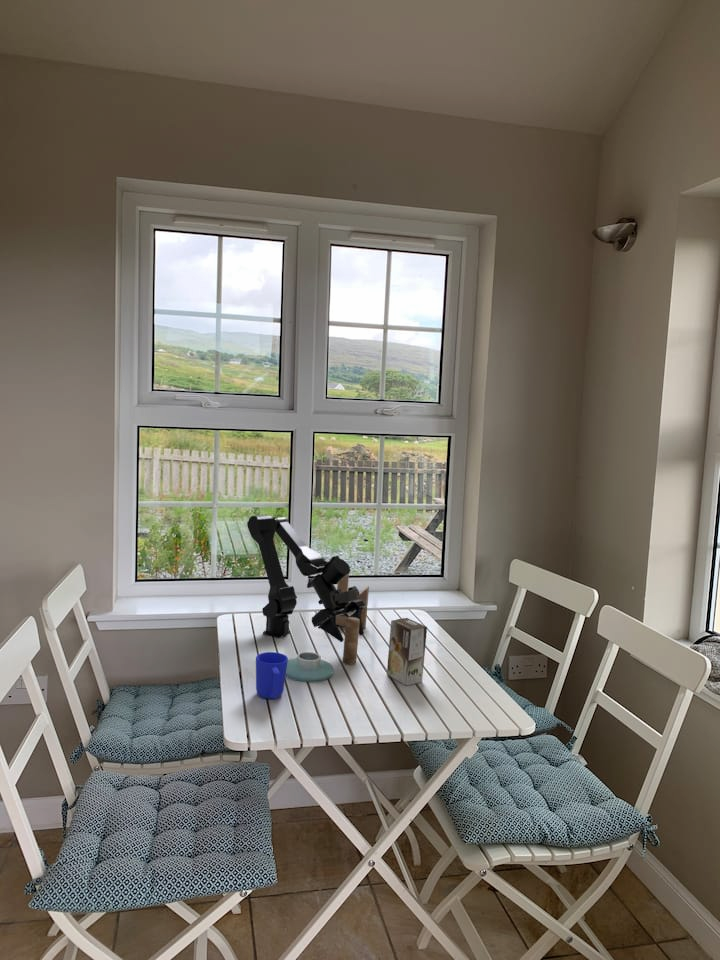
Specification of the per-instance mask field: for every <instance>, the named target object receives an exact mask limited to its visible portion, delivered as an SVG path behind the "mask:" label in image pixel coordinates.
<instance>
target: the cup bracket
mask: <svg viewBox="0 0 720 960" xmlns="http://www.w3.org/2000/svg"><path fill="white" fill-rule="evenodd" d="M333 672H334V667H333V665H332V664H331V663H330V662H328V661H326V660H323V659H322V657H321V655H320V654H319V653H316V652H311V651H310V652H309V651H304V652H299V653H297V654H296V658H295V657H294V658H290V659H288V663H287V669H286V676H285V677H287V678H289V679H291V678H292V680H294V679H295V680H294V681H298V680H300V681H299V682H304V681H305V682H307V683H315V682H314V681H318V682H322V681H326V680H328V679H330V678H332V676H333Z"/></svg>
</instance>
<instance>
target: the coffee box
mask: <svg viewBox="0 0 720 960" xmlns="http://www.w3.org/2000/svg"><path fill="white" fill-rule="evenodd" d="M389 631H390V632H389V643H388V644H389V645H388V655H387V665H386V666H387V668H386V675H387V676H389V677H390V678H393V679H394V680H395V681H398V682H400V683H402V684H403V685H405V686H410V685H414V684H419V683H422V682H423V677H424V675H423V674H424V667H425V666H424V664H425V655H426V646H427V645H426V643H427V631H428V626H426V625H423V624H422V623H419V622H417V621H415V620H413V619H411V618H409V617H403V618H398V619H393V620H391V621H390V630H389Z"/></svg>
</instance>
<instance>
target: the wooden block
mask: <svg viewBox="0 0 720 960" xmlns="http://www.w3.org/2000/svg"><path fill="white" fill-rule="evenodd" d="M349 577H350V573H349V574H348V575H347V576H345V577H344V578H343V579H342V580H341V581H340V582H339V583H338V584H336V585H337V587H336V589H337V590H338V589H340V590H341V591H342V592H346V591H348V588H349V580H350V579H349ZM369 593H370V586H369V585H368V586H367V587H366V588H365V589H363V590H362V591H361V592H359V596H357V598H358V600H362V601H363V602H364V604H365V607H364V610H363V611H362V613H361V621H362V626H363V629H364V630H365V629H366V626H367V615H368V605H369V602H368V601H369ZM352 601H355V600H352ZM352 601H351V602H352ZM351 602H349V604H350V603H351ZM349 604H348V605H349ZM346 606H347V605H346ZM341 612H342V611H341ZM346 618H348V617H346V616H345V615H344V614H343V615H340V616H336V624H337V625H339V626H338V627H342V626H344V627H343V628H345V627H346Z"/></svg>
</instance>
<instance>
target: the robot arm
mask: <svg viewBox="0 0 720 960" xmlns="http://www.w3.org/2000/svg"><path fill="white" fill-rule="evenodd" d="M246 526H247V529H248V531H249V534H250V537H251V538H252V539H253V540H254V541H255V542H256V543H257V545H258V547H259V552H260V554H261V559H262V562H263V565H264V570H265V573H266V576H267V580H268V584H269V591H268V595H267V599H268V603H266V605H264V606H263V607H262V609H261V611H262V615H263V616H264V617H266V623H265V630H264V631H262V634H264V635H266V636H271V637H275V638H277V639H278V638H279V639H281V638H282V637H284V636H286V635H288V634H290V633H291V631H290V620H289V615H292V614H293V612H294V610H295V608H296V605H298V604H297V603H298V601H297V598H298V596H297V595H296V591H295V587H294V586H293V585H291V586H289V585H288V584H287V582H286V580H285V576H284V573H283V570H282V569H283V568H282V566H281V563H280V559H279V555H278V551H277V548H276V545H275V541H274V538H275V534H277V536H278V537H279V538H280V539H281V540H282V542H283V543H284V544H285V547H287V548H288V550H289V551H290V552H291V553H292V554H293V557H294V558H295V564H296V567H297V569H298V570H299V572H300V573H301V575H303V576H304V577H310V576H314V577H312V578H308V581H307V584H306V588H307V589H310V588H313V589H314V591H315V592H316V595H317V596H318V598H319V600H318V601H317V602H318V604H319V605H322V606H323V607H324V608H323V609H320V610H319V611H318V612H316V613H315V614H314V615H313V616H312V617H311V624H312V626H313V627H314V628H317V629H320V630H322V631H323V632H325V633H327V634H328V635H330V636H331V637H332V638H334V639H336V640H337V641H338V642H340V643H342V642H344V639H345V638H344V637H343V635H342V632H341V631H340V629H339V626H337V624H336V616H340V615H343V614H344V615H345V616H346V617H348V618H349V617H354V618H358V619H360V623H359V635H360V636H363V635H364V634H365V632H364V630H363V626H362V621H361V613H362V611H363V610H364V607H365V604H364V602H363V601H362V600H358V598H357V596H359V594H360V591H359V589H358V588H357V586H356V585H354V586H351V587H348V591H346V592H342V591H341V590H340V589H338V590H337V587H336V586H335V585H337V584H338V583H339V582H340V581H341V580H342V579H343V578H344V577H345V576H347V575H348V574H349V575H350V573H351V567H350V565H349V563H348V562H346V561H345V559H342V558H340V557H339V555H334V556H332V557H331V558H330V560H329V561H328V560H325V558H324V557H323V556H321V554H319V552H317V551H316V550H315V549H312V548H310V547H309V546H308V545H307V544H306V543H305V541H304V540H303V539H302V538H301V536H299V535H300V534H298V533H297V532H296V530H295V529H294V528H293V526H292V525H291V524H290V523H289V519H288V518H287V517H285V516H276V517H275V516H272V515H270V514H258V515H252V516H250V517H249V519H248V521H247V524H246ZM352 600H355V601H352ZM351 601H352V602H351ZM349 602H351V603H350V604H349ZM348 604H349V605H348ZM346 605H347V606H346ZM341 611H342V612H341Z"/></svg>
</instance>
